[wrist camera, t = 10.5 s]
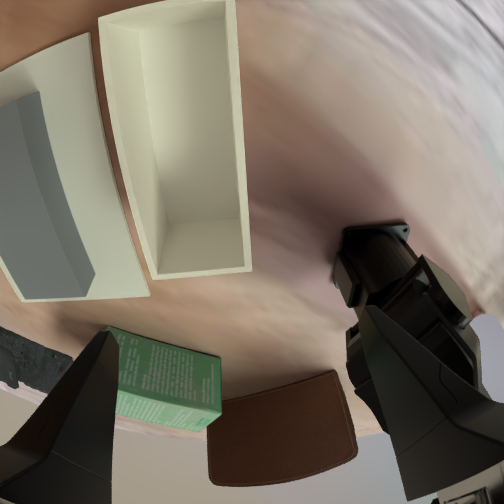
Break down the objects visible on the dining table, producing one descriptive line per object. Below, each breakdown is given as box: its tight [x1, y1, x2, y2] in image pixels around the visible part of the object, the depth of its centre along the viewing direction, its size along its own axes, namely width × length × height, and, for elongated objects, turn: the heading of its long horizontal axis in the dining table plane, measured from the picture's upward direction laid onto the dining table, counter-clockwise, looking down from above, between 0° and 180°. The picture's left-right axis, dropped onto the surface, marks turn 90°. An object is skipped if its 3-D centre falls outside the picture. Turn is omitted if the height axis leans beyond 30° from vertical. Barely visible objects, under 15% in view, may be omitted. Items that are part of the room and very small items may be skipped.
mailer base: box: [98, 0, 252, 280], centre depth 15 cm, size 6×15×6 cm, turn 3°
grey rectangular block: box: [0, 91, 96, 300], centre depth 17 cm, size 7×16×3 cm, turn 3°
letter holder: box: [207, 370, 358, 487], centre depth 36 cm, size 10×20×14 cm, turn 112°
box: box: [106, 326, 222, 432], centre depth 29 cm, size 7×14×8 cm, turn 63°
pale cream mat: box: [0, 32, 150, 302], centre depth 19 cm, size 16×22×1 cm
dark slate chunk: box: [0, 327, 74, 394], centre depth 31 cm, size 15×22×5 cm
